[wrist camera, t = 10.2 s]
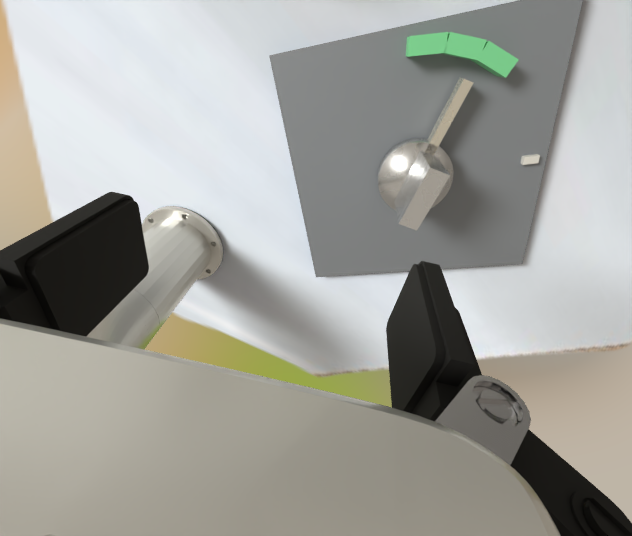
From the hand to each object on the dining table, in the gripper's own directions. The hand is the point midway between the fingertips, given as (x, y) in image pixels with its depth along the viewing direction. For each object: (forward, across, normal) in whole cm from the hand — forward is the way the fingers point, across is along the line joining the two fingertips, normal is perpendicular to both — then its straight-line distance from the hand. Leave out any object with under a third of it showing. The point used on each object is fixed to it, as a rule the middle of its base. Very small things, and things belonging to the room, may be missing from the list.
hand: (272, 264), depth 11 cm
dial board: (+30, -10, +4) cm, 32 cm away
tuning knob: (+28, -10, +1) cm, 30 cm away
